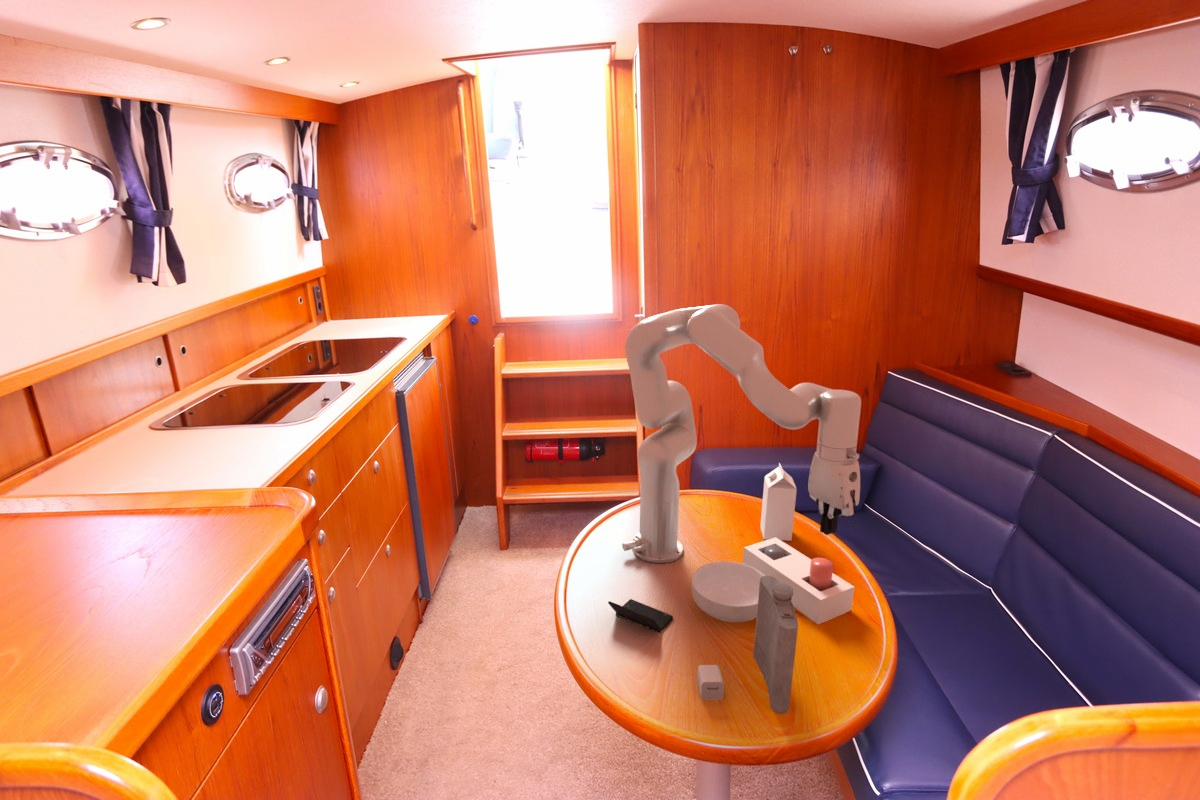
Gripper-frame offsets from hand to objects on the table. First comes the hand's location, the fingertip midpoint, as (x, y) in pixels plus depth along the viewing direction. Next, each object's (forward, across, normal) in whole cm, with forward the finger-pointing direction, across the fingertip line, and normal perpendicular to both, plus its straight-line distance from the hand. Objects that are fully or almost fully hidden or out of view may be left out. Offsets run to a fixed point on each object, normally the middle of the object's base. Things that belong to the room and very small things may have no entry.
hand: (828, 531), depth 139 cm
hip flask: (+18, -12, +25) cm, 34 cm away
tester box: (+18, +8, 0) cm, 20 cm away
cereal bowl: (+18, +9, +18) cm, 27 cm away
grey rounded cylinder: (+17, +15, 0) cm, 23 cm away
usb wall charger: (+18, -8, +37) cm, 42 cm away
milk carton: (+18, +29, -14) cm, 37 cm away
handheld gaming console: (+18, +15, +37) cm, 44 cm away
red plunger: (+13, +1, 0) cm, 13 cm away
